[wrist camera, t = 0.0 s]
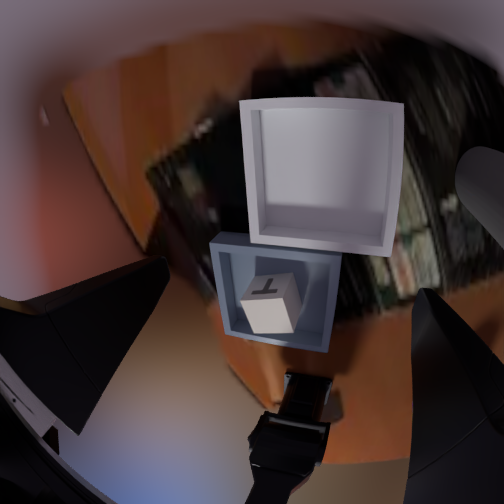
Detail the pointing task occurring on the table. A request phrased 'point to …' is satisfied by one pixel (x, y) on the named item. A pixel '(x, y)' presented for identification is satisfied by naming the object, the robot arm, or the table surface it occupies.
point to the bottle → (483, 188)
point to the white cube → (272, 303)
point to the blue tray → (268, 263)
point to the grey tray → (323, 172)
